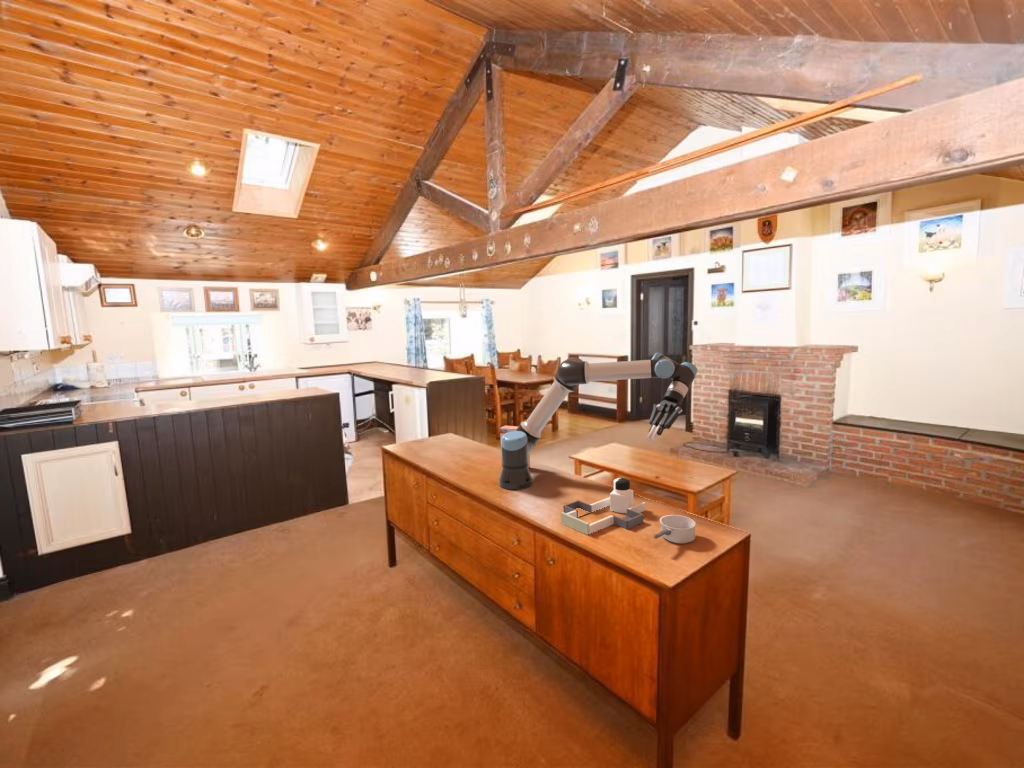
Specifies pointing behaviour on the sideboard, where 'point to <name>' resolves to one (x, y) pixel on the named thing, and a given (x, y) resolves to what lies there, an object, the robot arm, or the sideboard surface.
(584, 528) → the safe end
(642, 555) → the sideboard surface
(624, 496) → the medicine bottle
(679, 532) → the saucepan
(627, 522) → the channel
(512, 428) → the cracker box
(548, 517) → the sideboard surface
